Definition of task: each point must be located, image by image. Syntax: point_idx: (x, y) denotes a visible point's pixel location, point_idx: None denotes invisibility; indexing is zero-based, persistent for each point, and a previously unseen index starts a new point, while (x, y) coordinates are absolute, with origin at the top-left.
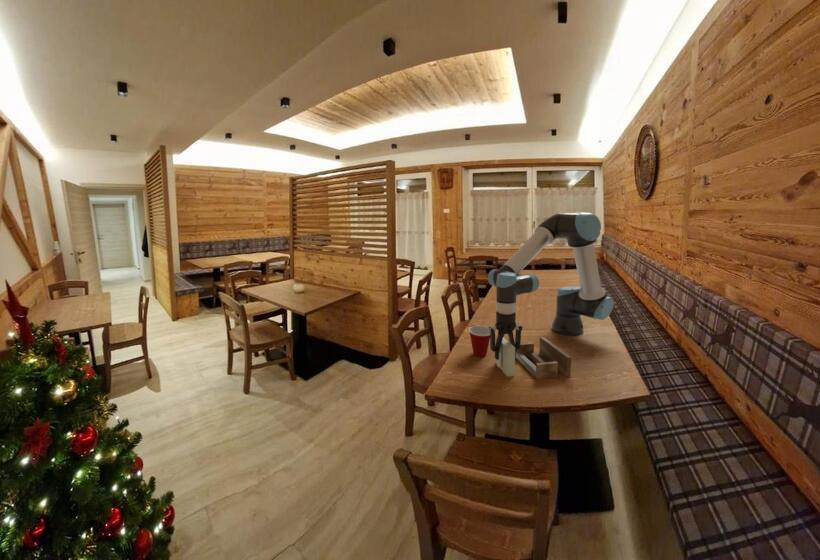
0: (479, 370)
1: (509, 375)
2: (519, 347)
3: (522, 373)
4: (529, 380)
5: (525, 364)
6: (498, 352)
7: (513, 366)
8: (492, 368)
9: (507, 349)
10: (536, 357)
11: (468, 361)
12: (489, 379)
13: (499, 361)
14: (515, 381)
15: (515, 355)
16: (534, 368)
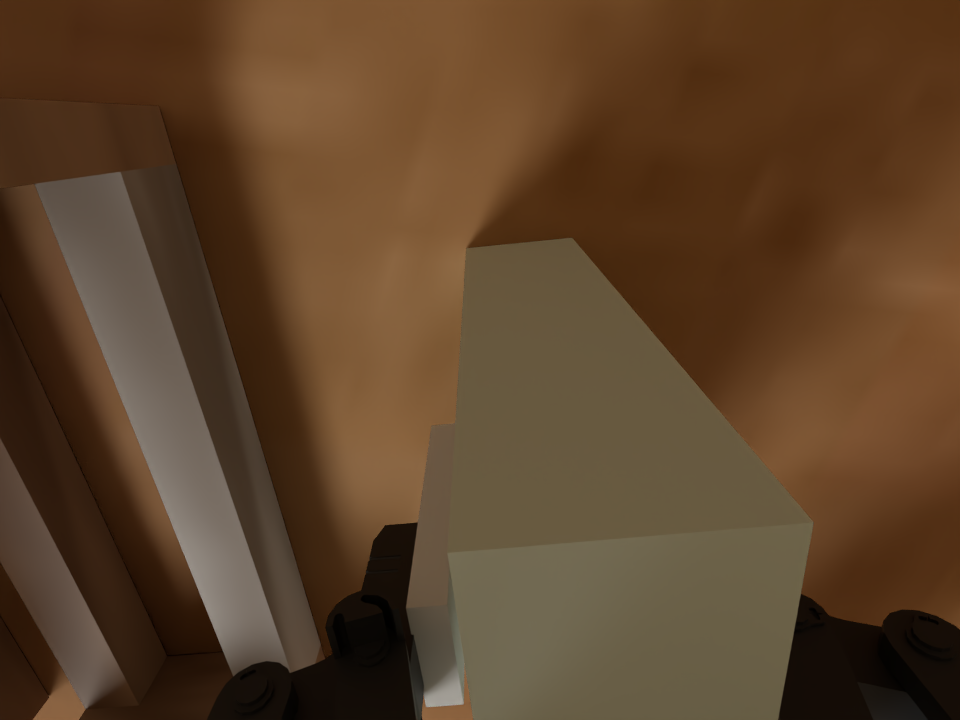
0: (850, 431)
1: (541, 243)
2: (236, 702)
3: (338, 302)
4: (287, 83)
5: (247, 471)
6: None
7: (487, 285)
8: None
9: (779, 505)
10: (66, 597)
11: (862, 623)
12: (849, 183)
13: None
14: (505, 76)
15: None
16: (130, 287)
